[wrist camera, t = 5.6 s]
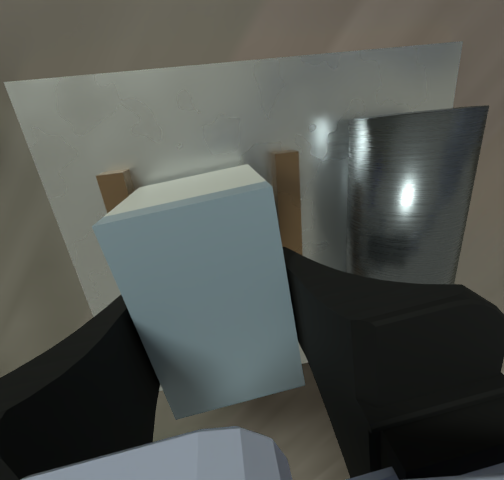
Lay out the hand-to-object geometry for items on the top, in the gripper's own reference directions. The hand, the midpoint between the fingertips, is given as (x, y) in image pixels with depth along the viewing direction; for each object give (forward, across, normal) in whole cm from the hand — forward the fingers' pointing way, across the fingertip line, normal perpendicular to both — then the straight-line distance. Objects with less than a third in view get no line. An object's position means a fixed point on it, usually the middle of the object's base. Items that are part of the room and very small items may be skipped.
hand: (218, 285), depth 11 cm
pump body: (+2, 0, 0) cm, 2 cm away
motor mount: (+4, -2, 0) cm, 5 cm away
